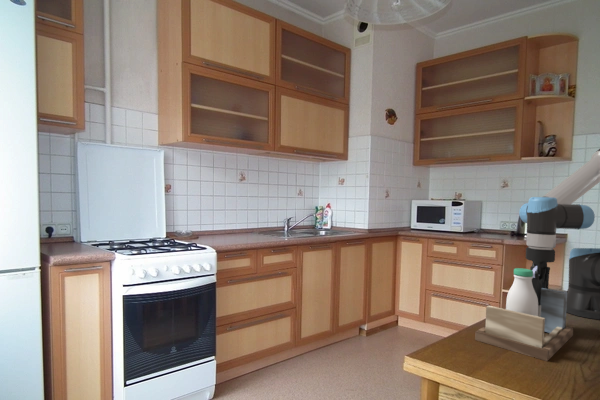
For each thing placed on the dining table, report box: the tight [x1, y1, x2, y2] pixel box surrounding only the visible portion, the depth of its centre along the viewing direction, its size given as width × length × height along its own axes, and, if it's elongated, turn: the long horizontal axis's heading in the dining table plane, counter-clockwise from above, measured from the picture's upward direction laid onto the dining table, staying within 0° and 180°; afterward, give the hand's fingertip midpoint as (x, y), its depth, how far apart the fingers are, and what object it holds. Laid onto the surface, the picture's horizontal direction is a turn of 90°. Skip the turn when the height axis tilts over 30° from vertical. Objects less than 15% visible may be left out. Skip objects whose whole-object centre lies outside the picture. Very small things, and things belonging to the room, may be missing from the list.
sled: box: [485, 288, 567, 348], centre depth 109 cm, size 24×14×12 cm, turn 133°
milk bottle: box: [505, 267, 538, 316], centre depth 105 cm, size 8×8×20 cm
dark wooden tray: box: [474, 325, 574, 362], centre depth 108 cm, size 27×17×2 cm, turn 133°
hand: (537, 324), depth 116 cm, fingers closed on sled, 4 cm apart
